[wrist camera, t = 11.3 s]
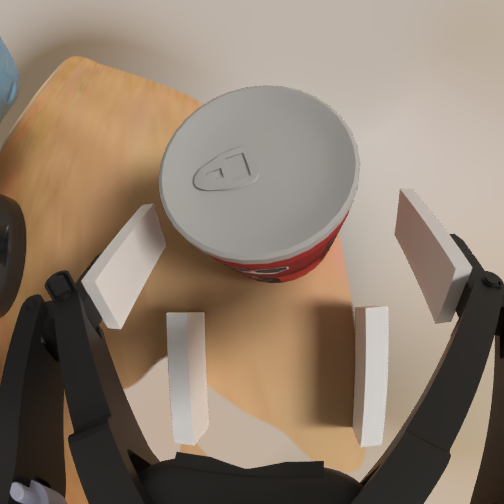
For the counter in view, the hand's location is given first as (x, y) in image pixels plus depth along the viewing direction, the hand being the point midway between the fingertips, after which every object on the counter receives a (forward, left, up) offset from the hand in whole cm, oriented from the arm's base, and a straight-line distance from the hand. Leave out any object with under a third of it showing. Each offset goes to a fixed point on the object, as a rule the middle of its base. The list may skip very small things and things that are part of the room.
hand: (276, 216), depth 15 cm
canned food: (-1, 0, -6) cm, 6 cm away
